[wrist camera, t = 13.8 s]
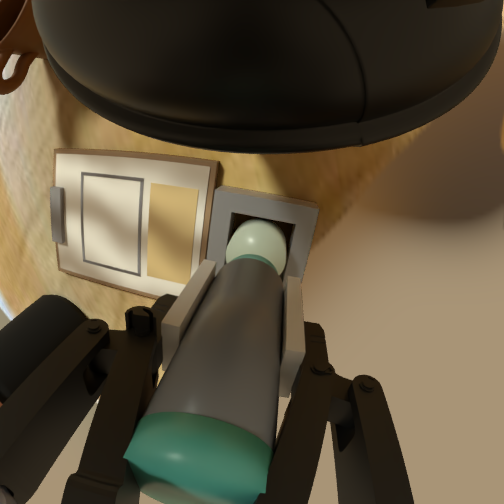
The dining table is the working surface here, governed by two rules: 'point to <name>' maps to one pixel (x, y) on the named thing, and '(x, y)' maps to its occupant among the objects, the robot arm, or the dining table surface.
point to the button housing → (264, 207)
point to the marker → (217, 396)
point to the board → (131, 217)
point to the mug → (18, 41)
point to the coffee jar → (34, 339)
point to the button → (259, 242)
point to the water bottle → (270, 67)
